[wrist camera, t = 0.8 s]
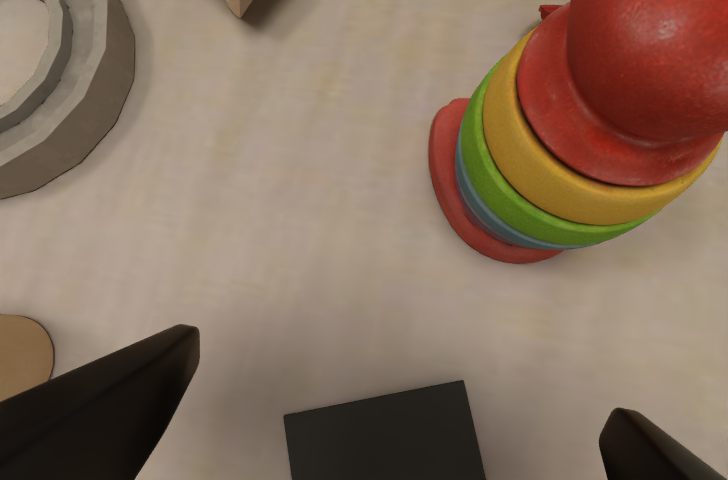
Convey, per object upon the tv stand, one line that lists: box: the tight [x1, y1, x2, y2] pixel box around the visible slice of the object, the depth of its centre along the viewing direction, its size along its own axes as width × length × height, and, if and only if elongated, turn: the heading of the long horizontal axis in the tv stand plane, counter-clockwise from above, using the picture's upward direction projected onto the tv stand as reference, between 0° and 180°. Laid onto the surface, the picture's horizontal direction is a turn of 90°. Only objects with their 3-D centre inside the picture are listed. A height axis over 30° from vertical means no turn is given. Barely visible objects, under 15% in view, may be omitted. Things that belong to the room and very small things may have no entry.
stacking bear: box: [429, 0, 728, 263], centre depth 17 cm, size 11×10×18 cm
